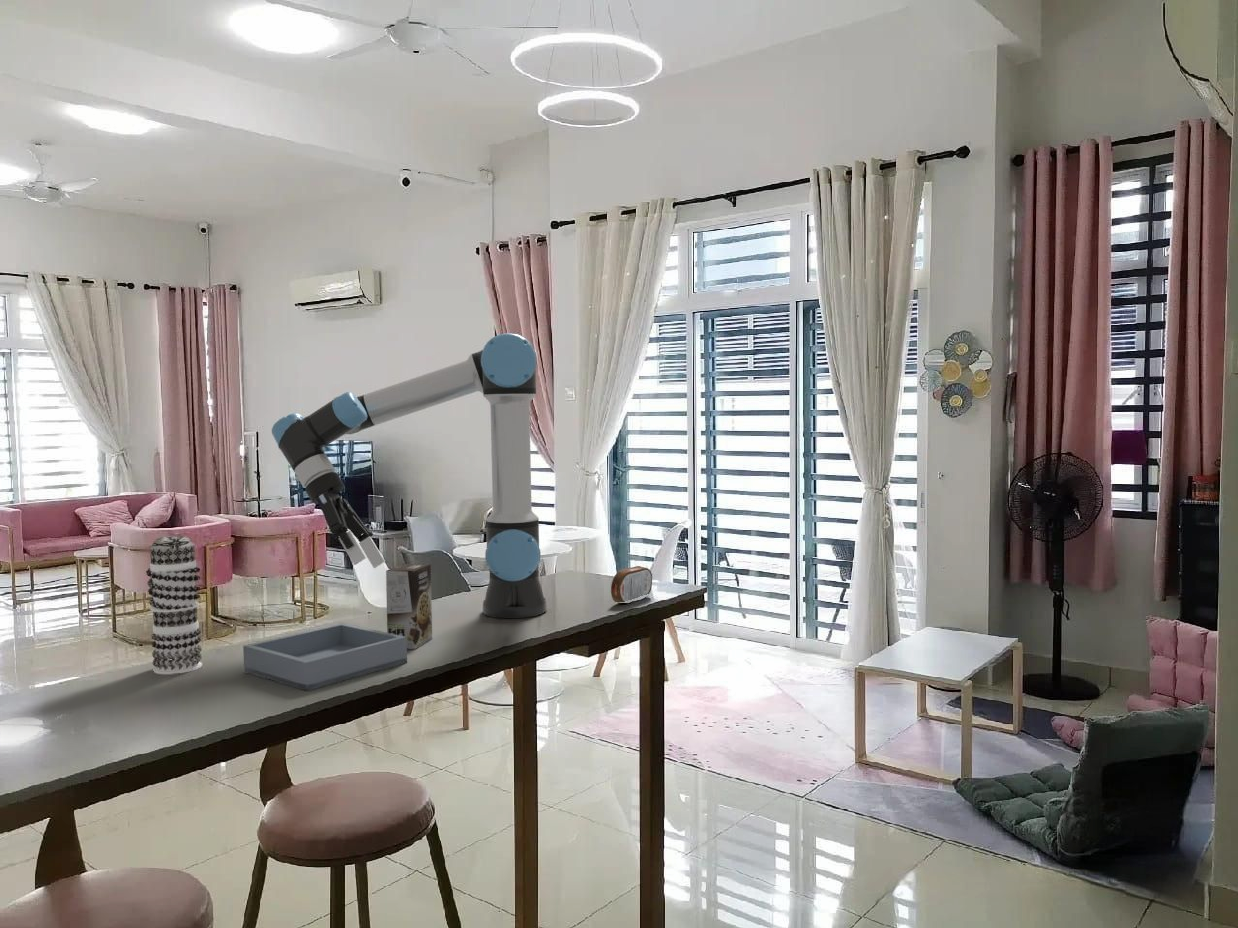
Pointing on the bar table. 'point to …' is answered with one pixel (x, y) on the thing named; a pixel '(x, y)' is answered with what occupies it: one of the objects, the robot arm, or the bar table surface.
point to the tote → (324, 655)
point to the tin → (631, 583)
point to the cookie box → (410, 603)
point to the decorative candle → (174, 605)
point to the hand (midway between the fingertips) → (370, 563)
